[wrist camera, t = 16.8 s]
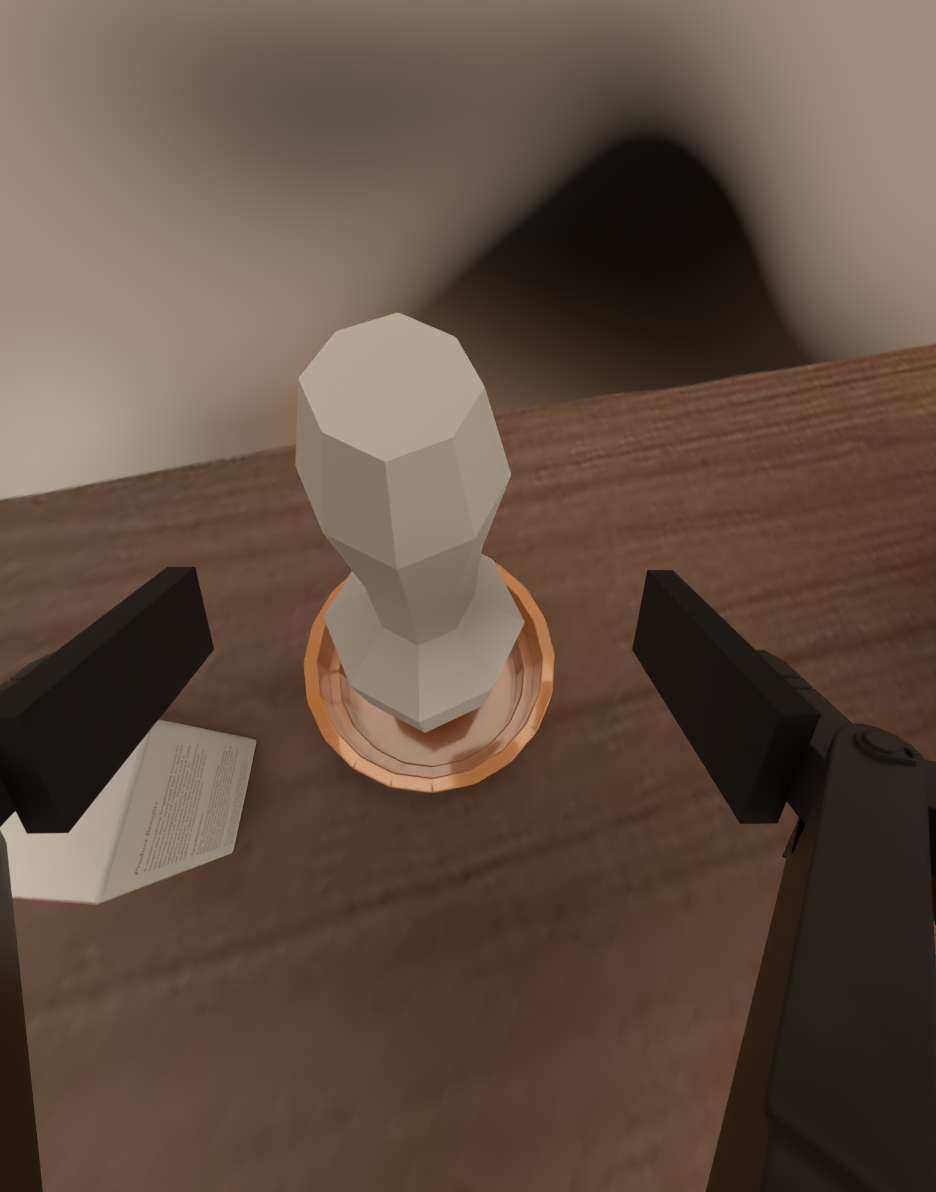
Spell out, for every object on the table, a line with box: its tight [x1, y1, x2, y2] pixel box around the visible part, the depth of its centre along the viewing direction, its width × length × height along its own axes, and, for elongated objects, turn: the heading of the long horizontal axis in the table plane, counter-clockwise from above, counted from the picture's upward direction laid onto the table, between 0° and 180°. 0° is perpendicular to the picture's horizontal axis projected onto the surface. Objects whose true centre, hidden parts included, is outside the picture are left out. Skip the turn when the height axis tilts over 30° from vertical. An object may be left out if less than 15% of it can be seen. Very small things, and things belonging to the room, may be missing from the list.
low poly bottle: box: [296, 313, 525, 733], centre depth 17 cm, size 6×6×22 cm
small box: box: [0, 720, 256, 905], centre depth 21 cm, size 8×6×10 cm
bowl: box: [304, 562, 555, 793], centre depth 25 cm, size 11×11×6 cm
